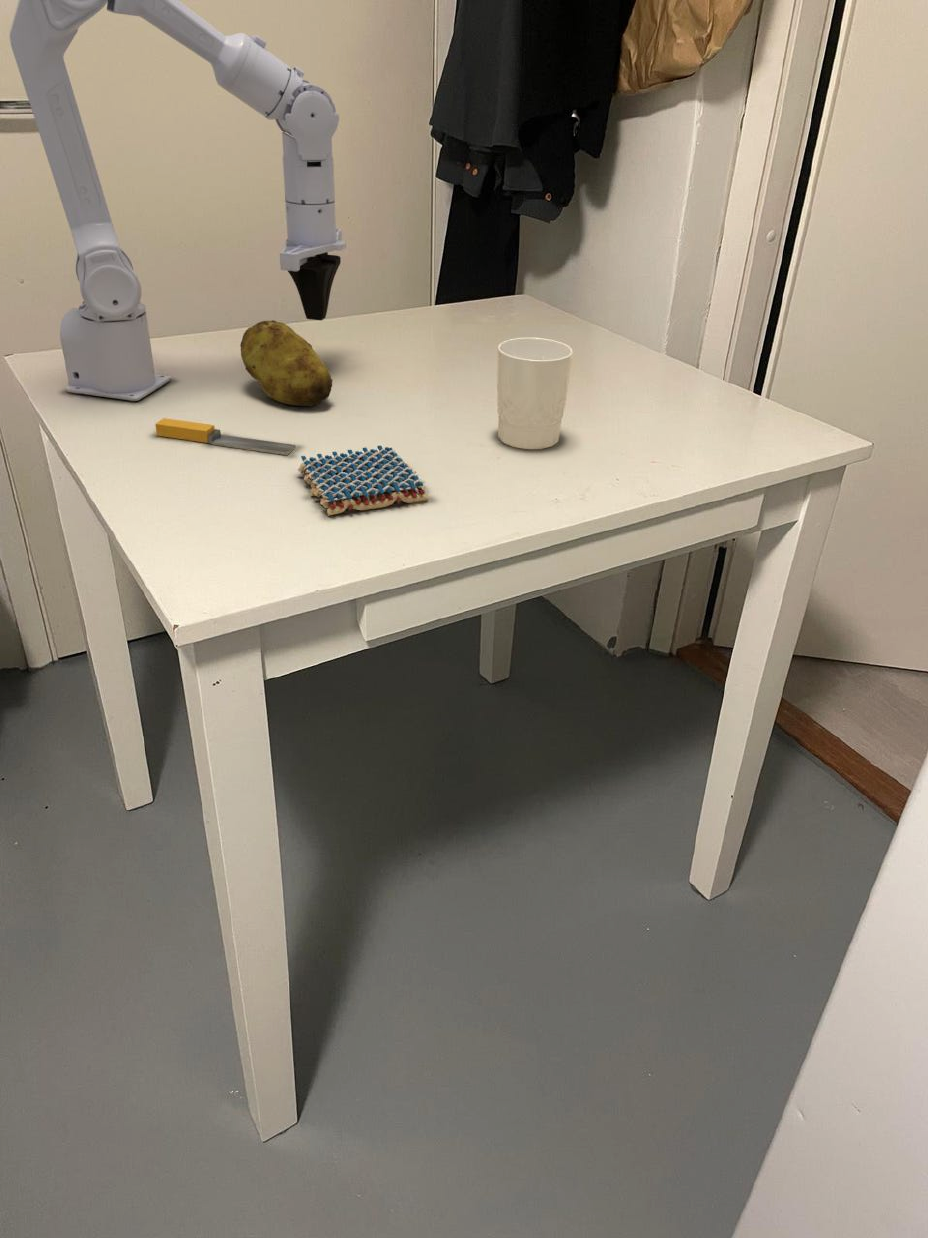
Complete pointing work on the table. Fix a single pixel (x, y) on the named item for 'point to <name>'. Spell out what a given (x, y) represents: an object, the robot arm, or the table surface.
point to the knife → (216, 436)
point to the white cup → (532, 391)
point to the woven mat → (362, 480)
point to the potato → (285, 364)
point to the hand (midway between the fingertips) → (316, 318)
